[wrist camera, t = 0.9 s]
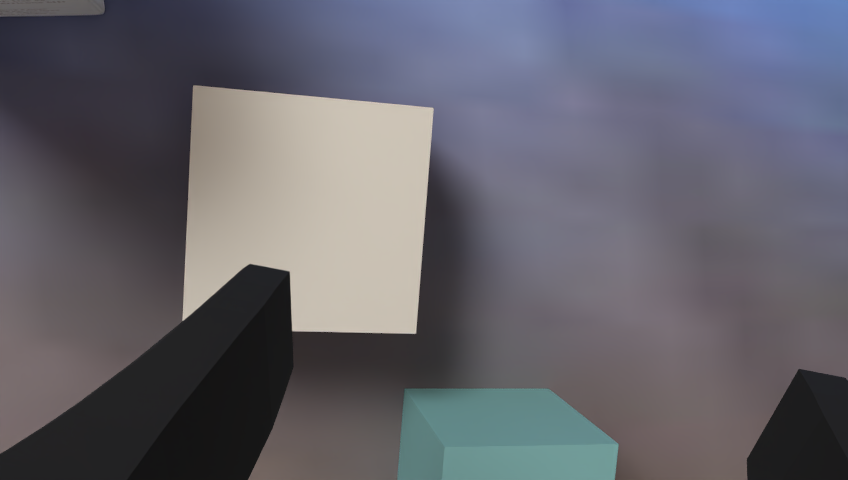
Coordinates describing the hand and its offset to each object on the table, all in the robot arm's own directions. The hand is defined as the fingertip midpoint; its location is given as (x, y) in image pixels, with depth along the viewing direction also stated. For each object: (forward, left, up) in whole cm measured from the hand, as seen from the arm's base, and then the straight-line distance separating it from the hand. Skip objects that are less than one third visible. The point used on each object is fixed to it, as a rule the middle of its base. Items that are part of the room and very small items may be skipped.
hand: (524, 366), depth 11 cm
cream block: (+1, +2, -13) cm, 14 cm away
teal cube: (-7, -4, -13) cm, 16 cm away
